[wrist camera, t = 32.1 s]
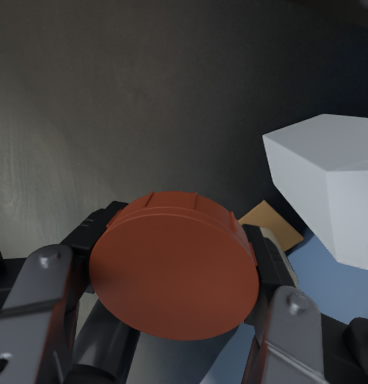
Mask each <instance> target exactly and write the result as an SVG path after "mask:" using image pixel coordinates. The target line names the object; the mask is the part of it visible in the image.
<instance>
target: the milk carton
mask: <svg viewBox="0 0 368 384" xmlns="http://www.w3.org/2000/svg"><path fill="white" fill-rule="evenodd" d="M263 141H264V145H265V150H266V154H267V158H268V163H269V167H270V171H271V176H272V180H273V183H274V185H275V186H276V188H277V189H278V190H279V191H280V192H281V194H282V195H283V196H284V197H285V198H286V200H287V201H288V202H289V203H290V205H291V206H292V207H293V208H294V209H295V211H296V212H297V213H298V214H299V216H300V217H301V218H302V219H303V220H304V222H305V223H306V224H307V225H308V226H309V228H310V229H311V230H312V231H313V233H314V234H315V235H316V236H317V237H318V239H319V240H320V241H321V242H322V243H323V245H324V246H325V247H326V248H327V250H328V251H329V252H330V253H331V254H332V256H333V257H334V258H335V259H336V260H337V262H339V263H342V264H347V265H350V266H354V267H358V268H361V269H365V270H368V118H361V117H350V116H340V115H329V114H322V115H319V116H316V117H313V118H310V119H307V120H305V121H302V122H299V123H296V124H293V125H290V126H287V127H285V128H282V129H279V130H276V131H273V132H270V133H267V134H265V135H263Z"/></svg>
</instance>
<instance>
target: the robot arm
mask: <svg viewBox="0 0 368 384" xmlns="http://www.w3.org/2000/svg"><path fill="white" fill-rule="evenodd" d="M127 205H129V204H128V203H124V202H118V201H113V202H112V203H111V204H110V205H109V206H108V207H107V208H106V209H102V208H101V209H99V210H97V211H95V212H93V213H91V214H90V215H89V216H88V217H87V218H86V219H85V220H84V221H83V222H82V223H81V224H80V226H78V227H77V228H76V229H74V230H73V231H72V232H71V233H70V234H69V235H68V236H67V237H66V238H65V239H64V240H63V241H62V242H61V243H60V244H53V245H48V246H44V247H42V248H39V249H37V250H36V251H34V252H33V253H31V254H30V255H29V256H28V257H27V258H14V259H3V257H2V254H1V252H0V384H126V381H127V377H128V374H129V370H130V367H131V364H132V360H133V357H134V353H135V350H136V346H137V343H138V339H139V336H140V332H141V331H139V330H137V329H135V328H133V327H131V326H129V325H127V324H126V323H124V322H122V321H121V320H120V319H118V318H117V317H116V316H114V315H113V314H112V313H111V312H110V311H109V310H108V309H107V308H106V307H105V306H104V305H103V304H102V302H101V301H100V299H99V298H98V300H97V302H96V303H95V305H94V307H93V309H92V311H91V312H90V314H89V316H88V318H87V320H86V322H85V323H84V325H83V327H82V329H81V331H80V332H79V334H78V336H77V338H76V340H75V334H76V327H77V319H78V312H79V299H80V298H81V296H82V295H83V293H84V292H87V293H92V294H94V293H95V291H94V289H93V286H92V284H91V280H90V276H89V261H90V256H91V253H92V250H93V248H94V246H95V244H96V242H97V241H98V240H99V238H100V237H101V236H102V235H103V233H104V232H105V231H106V230H107V227H106V226H107V225H108V223H109V222H110V221H111V220H112V219H113V217H114V216H115V215H116V214H117V212H118V211H119V210H120V209H121V210H123V209H124V208H125V207H126V206H127ZM242 228H243V230H244V232H245V234H246V236H247V239H248V243H250V242H251V245H252V248H253V251H254V255H255V258H256V261H257V265H258V266H255V267H256V270H257V273H258V279H259V293H258V297H257V301H256V303H255V306H254V308H253V310H252V311H251V312H250V314H249V315H248V317H247V318H246V319H245V320H244V324H248V325H253V326H254V329H255V335H254V338H253V340H252V344H251V348H250V352H249V355H248V359H247V364H246V367H245V371H244V375H243V379H242V382H241V384H368V319H365V318H360V317H358V318H354V319H353V320H352V321H351V322H350V323H349V325H346V324H344V323H342V322H340V321H337V320H335V319H333V318H331V317H329V316H326V315H324V314H322V313H320V310H319V308H318V307H317V305H316V304H315V302H314V301H313V300H312V299H311V298H310V297H309V296H308V295H306V294H305V293H304V292H302V291H300V290H299V289H297V288H296V286H295V284H294V282H293V280H292V277H291V275H290V273H289V271H288V269H287V267H286V265H285V263H284V262H283V259H282V256H281V255H280V252H279V250H278V248H277V246H276V245H275V244H274V243H273V242H272V241H271V240H270V239H269V238H267V237H264V236H263V234H262V231H261V229H260V227H259V226H256V225H251V224H245V223H243V224H242Z"/></svg>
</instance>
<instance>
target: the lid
mask: <svg viewBox="0 0 368 384" xmlns="http://www.w3.org/2000/svg"><path fill="white" fill-rule="evenodd" d="M106 227H107V230H106V231H105V232H104V233H103V235H102V236H101V237H100V238H99V240H98V241H97V242H96V244H95V246H94V248H93V250H92V253H91V256H90V261H89V276H90V280H91V284H92V286H93V289H94V291H95V293H96V295H97V296H98V298H99V299H100V301H101V302H102V304H103V305H104V306H105V307H106V308H107V309H108V310H109V311H110V312H111V313H112V314H113V315H114V316H116V317H117V318H118V319H120V320H121V321H122V322H124V323H126V324H127V325H129V326H131V327H133V328H135V329H137V330H139V331H141V332H144V333H147V334H149V335H153V336H156V337H160V338H165V339H172V340H200V339H206V338H211V337H215V336H218V335H221V334H223V333H225V332H228V331H230V330H231V329H233V328H235V327H236V326H238V325H239V324H240V323H241V322H243V321H244V320H245V319H246V318H247V317H248V315H249V314H250V312H251V311H252V310H253V308H254V306H255V303H256V301H257V297H258V293H259V279H258V273H257V270H256V267H255V266H258V265H257V261H256V258H255V255H254V251H253V248H252V245H251V242H250V243H248V239H247V236H246V234H245V232H244V230H243V228H242V226H241V225H240V224H239V222H238V221H237V220H236V218H235V217H234V214H233V212H228V211H227V210H226V209H225V208H224V207H222V206H220V205H219V204H217V203H216V202H214V201H212V200H210V199H208V198H205V197H203V196H199V195H196V192H193V193H187V192H181V191H165V192H158V193H154V192H150V194H149V195H146V196H143V197H141V198H139V199H137V200H135V201H133V202H132V203H130V204H129V205H127V206H126V207H125V208H124V209H123V210H121V209H120V210H119V211H118V212H117V214H116V215H115V216H114V217H113V219H112V220H111V221H110V222H109V223H108V225H107V226H106Z"/></svg>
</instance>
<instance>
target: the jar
mask: <svg viewBox="0 0 368 384" xmlns="http://www.w3.org/2000/svg"><path fill="white" fill-rule="evenodd" d="M260 229H261V231H262V234H263V236H264V237H267V238H269V239H270V240H271V241H272V242H273V243H274V244H275V245H276V246H277V248H278V250H279V252H280V255H281V256H282V259H283V262H284V263H285V265H286V267H287V269H288V271H289V273H290V275H291V277H292V280H293V282H294V284H295V286H296V288H297V289H299V288H298V278H297V276H296V274H295V272H294V270H293V268H292V266H291V264H290V262H289V260H288V258H287V256H286V254H285V252H284V251H283V249H282V247H281V245H280V243H279V241H278V239H277V237H276V235H275V234H274V233H273V232H272V231H271V230H269V229H267V228H263V227H260Z"/></svg>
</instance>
